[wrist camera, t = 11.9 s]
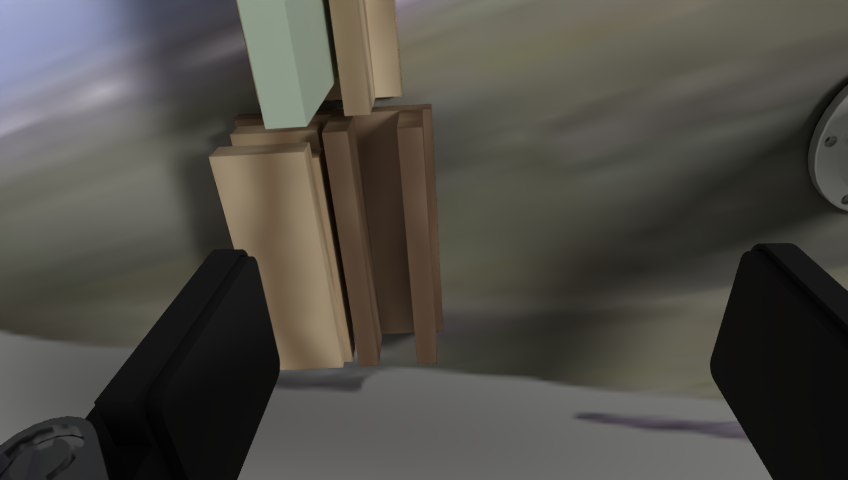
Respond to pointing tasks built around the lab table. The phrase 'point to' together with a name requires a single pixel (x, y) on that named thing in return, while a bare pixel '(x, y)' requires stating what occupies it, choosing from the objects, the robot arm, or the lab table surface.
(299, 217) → the rack
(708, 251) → the lab table surface
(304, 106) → the tall sheet
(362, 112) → the cradle
